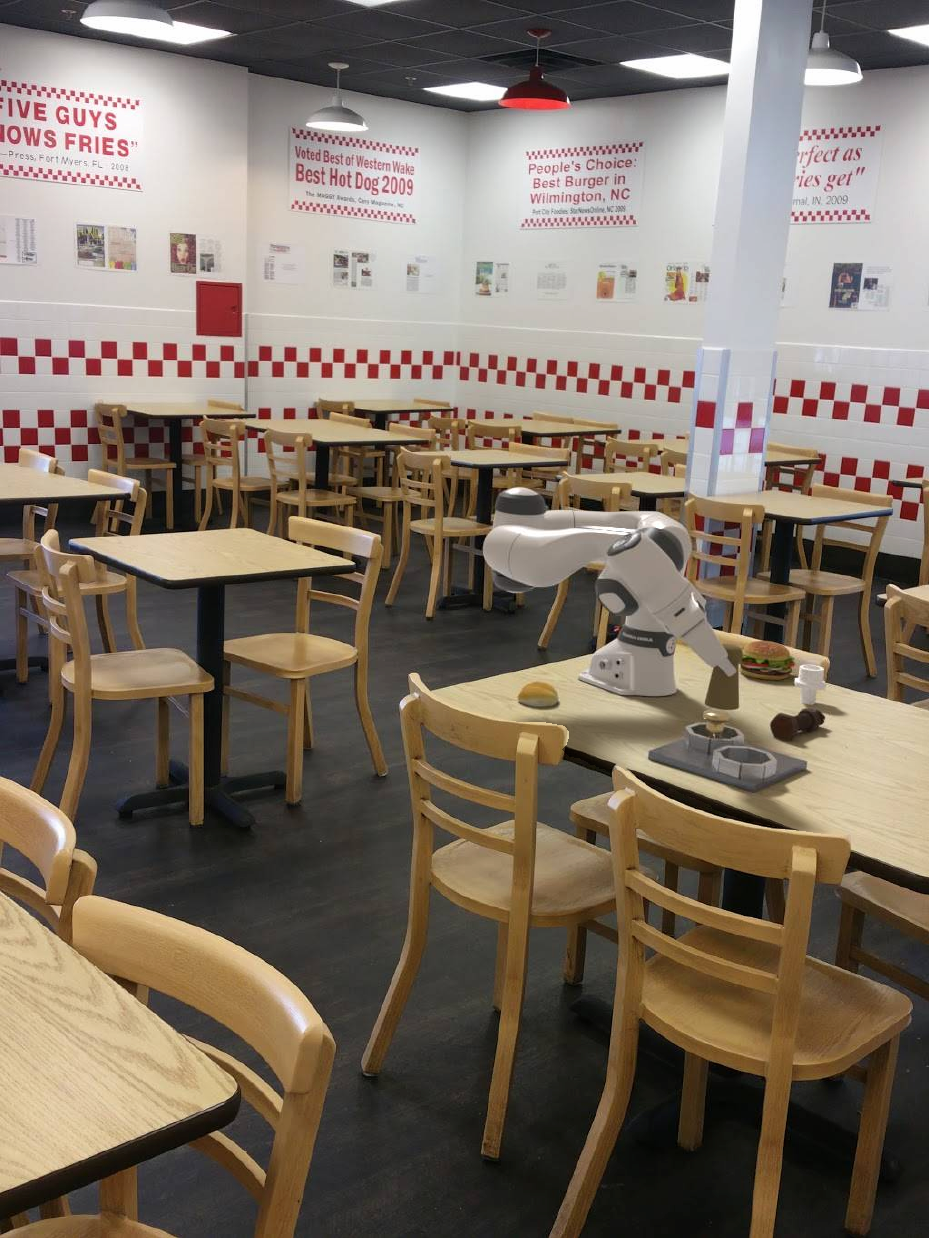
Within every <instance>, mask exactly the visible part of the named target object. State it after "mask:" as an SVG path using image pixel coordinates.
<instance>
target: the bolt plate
mask: <svg viewBox="0 0 929 1238" xmlns="http://www.w3.org/2000/svg"><path fill="white" fill-rule="evenodd" d="M702 718H703V719H704V720H705V721H706V722H695V723H692V724H688V725H686V726H685V727H684V733H683V738H681V739H678V740H674V741H672V742H670V743H667V744H664V745H662V746H659V747H656V748H653V749H649V750H648V755H647V759H648V760H652V761H654V762H657V763H660V764H663V765H667V766H670V767H674V768H676V769H678V770H682V771H685V772H688V773H692V774H695V775H698V776H701V777H704V778H708V779H710V780H713V781H717V782H720V783H724V784H726V785H730V786H733V787H735V788H739V789H742V790H746V791H747V792H752V793H757V792H759V791H761V790H763V789H766V788H768V787H770V786H773V785H775V784H777V783H779V782H781V781H784V780H785V779H789V778H790V777H792V776H795V775H796V774H799V773H801V772H803V771H805V770H807V767H808V761H807V760H806V759H805V760H804V759H801V758H797V757H794V756H790V755H787V754H784V753H780V752H778V751H777V752H776V751H773V750H769V749H765V748H763V747H760V746H756V745H752V744H749V743H746V742H745V736H746V735H744V733H743V732H742V731H741V730H740V728H739V729H738V728H736V727H733V726H729V725H725V723H728V722H729V721H730V713H728V712H727V711H723V710H720V709H706V710H704V711H703V716H702Z"/></svg>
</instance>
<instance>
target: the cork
mask: <svg viewBox="0 0 929 1238" xmlns="http://www.w3.org/2000/svg"><path fill="white" fill-rule="evenodd" d="M722 645H723V647H724V648H725V650H726V652H727V654H728V657H727V658H728V660H729V661H730V662H731V663H732V665H733V666H734V667H735V668H736V673H735V674H733V675H732V676H728V675H727V674H726V673H725V672H724V671H723V670H722V669H721V668H720V667H719V666H718V665H717V666H715V667H712V671H711V676H710V678H709V679H710V680H709V684H708V688H707V692H706V696H705V699H704V702H703V703H704V705H705V706H707V707H708V708H712V709H714V710H720V711H723V710H725V711H735V710H737V709H739V708H740V692H739V691H740V683H739V682H740V680H739V679H740V678H739V677H740V676H739V673H740V670H739V668H740V667H739V665H740V662H741V661H742V658H743V651H742V648H741V647H740V646H739V645H736V644H732V643H722Z"/></svg>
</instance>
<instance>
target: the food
mask: <svg viewBox="0 0 929 1238" xmlns="http://www.w3.org/2000/svg"><path fill="white" fill-rule="evenodd" d="M741 649H742V651H743V658H742V661H741V662H740V664H739V665H740V666H739V667H738V668H739V673H741V674H742V675H744V676H746V677H751V678H753V679H756V680H757V679H759V680H767V681H779V680H784V679H788V678H789V676H790V674H791V673H792V672H793V669H792V668H793V667H795V665H796V663H795V662H796V661H795V657H793V656H791V654H790V650H789V649H788V648H787V647H786V646H784V645H782V644H780V643H778V642H774V641H770V640H769V641H768V640H757V641H751V642H749V643H747V644H745V645H744V647H742V648H741Z"/></svg>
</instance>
